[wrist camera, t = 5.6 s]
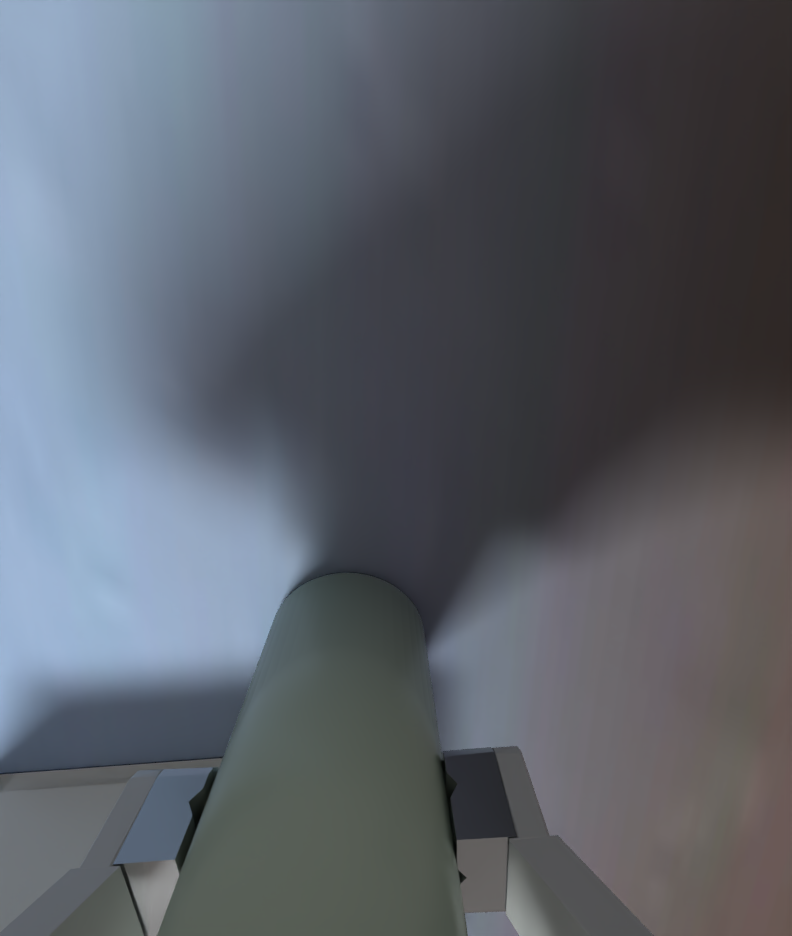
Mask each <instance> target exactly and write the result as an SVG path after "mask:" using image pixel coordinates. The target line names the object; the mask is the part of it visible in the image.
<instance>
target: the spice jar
mask: <svg viewBox="0 0 792 936" xmlns="http://www.w3.org/2000/svg"><path fill="white" fill-rule="evenodd" d="M157 936H468V935H467V928H466V921H465V914H464V907H463V900H462V893H461V886H460V879H459V872H458V865H457V861H456V854H455V847H454V840H453V833H452V826H451V820H450V809H449V802H448V796H447V791H446V784H445V777H444V770H443V762H442V753H441V746H440V739H439V732H438V725H437V718H436V711H435V704H434V698H433V691H432V684H431V677H430V670H429V663H428V656H427V649H426V642H425V635H424V628H423V624H422V620H421V617H420V615H419V613H418V611H417V609H416V607H415V606H414V604H413V603H412V602H411V601H410V599H409V598H408V597H407V596H406V595H405V594H404V593H403V592H401V591H400V590H399V589H398V588H396V587H395V586H393V585H392V584H390V583H388V582H386V581H384V580H382V579H379V578H376V577H373V576H369V575H365V574H358V573H336V574H330V575H325V576H321V577H319V578H316V579H313V580H311V581H309V582H307V583H305V584H303V585H302V586H300V587H299V588H297V589H296V590H294V591H293V592H292V593H291V594H290V595H289V596H288V597H287V598H286V599H285V600H284V602H283V603H282V604H281V606H280V608H279V609H278V611H277V613H276V615H275V618H274V620H273V623H272V626H271V628H270V631H269V634H268V637H267V639H266V642H265V645H264V647H263V650H262V653H261V656H260V658H259V661H258V664H257V666H256V669H255V672H254V674H253V677H252V680H251V683H250V685H249V688H248V691H247V693H246V696H245V699H244V701H243V704H242V707H241V710H240V712H239V715H238V718H237V720H236V723H235V726H234V729H233V731H232V734H231V737H230V739H229V742H228V745H227V747H226V750H225V753H224V756H223V758H222V761H221V764H220V766H219V769H218V772H217V775H216V777H215V780H214V783H213V785H212V788H211V791H210V793H209V796H208V799H207V802H206V804H205V807H204V810H203V812H202V815H201V818H200V820H199V823H198V826H197V829H196V831H195V834H194V837H193V839H192V842H191V845H190V848H189V850H188V853H187V856H186V858H185V861H184V864H183V866H182V869H181V872H180V875H179V877H178V880H177V883H176V885H175V888H174V891H173V894H172V896H171V899H170V902H169V904H168V907H167V910H166V912H165V915H164V918H163V921H162V923H161V926H160V929H159V931H158V934H157Z"/></svg>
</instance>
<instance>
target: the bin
mask: <svg viewBox="0 0 792 936" xmlns="http://www.w3.org/2000/svg"><path fill="white" fill-rule="evenodd" d="M221 761H222V758H217V759H203V760H190V761H176V762H162V763H149V764H135V765H122V766H108V767H94V768H81V769H67V770H54V771H40V772H27V773H13V774H0V932H1V931H2V930H3V929H4V928H6V927H7V926H8V925H9V924H10V923H11V922H12V921H13V920H14V919H16V918H17V917H18V916H19V915H20V914H21V913H22V912H23V911H24V910H26V909H27V908H28V907H29V906H30V905H31V904H32V903H33V902H35V901H36V900H37V899H38V898H39V897H40V896H41V895H42V894H43V893H45V892H46V891H47V890H48V889H49V888H50V887H51V886H52V885H53V884H55V883H56V882H57V881H58V880H59V879H60V878H61V877H62V876H63V875H65V874H66V873H67V872H68V871H69V870H70V869H76V868H80V866H81V864H82V862H83V861H84V859H85V857H86V855H87V854H88V852H89V850H90V848H91V846H92V845H93V843H94V841H95V839H96V838H97V836H98V834H99V832H100V831H101V829H102V827H103V825H104V823H105V822H106V820H107V818H108V816H109V815H110V813H111V811H112V809H113V808H114V806H115V804H116V802H117V800H118V799H119V797H120V795H121V793H122V792H123V790H124V788H125V786H126V784H127V783H128V781H129V779H130V778H131V777H132V776H133V775H134V774H135V773H136V772H137V771H139V770H158V769H182V768H210V767H218V768H219V766H220V764H221Z"/></svg>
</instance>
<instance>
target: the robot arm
mask: <svg viewBox="0 0 792 936" xmlns="http://www.w3.org/2000/svg"><path fill="white" fill-rule="evenodd" d="M442 762H443V770H444V777H445V784H446V791H447V796H448V802H449V809H450V820H451V826H452V833H453V840H454V847H455V854H456V861H457V865H458V872H459V879H460V886H461V893H462V900H463V907H464V913H474V912H501V911H506V915H507V917H508V918H509V920H510V921H511V923H512V924H513V926H514V928H515V929H516V931H517V932H518V934H519V935H520V936H654V935H653V934H652V933H651V932H650V931H649V930H648V929H647V928H646V927H645V926H644V925H643V924H642V923H641V922H640V921H639V920H638V919H637V917H636V916H635V915H634V914H633V913H632V912H631V911H630V910H629V909H628V908H627V907H626V906H625V905H624V904H623V903H622V902H621V901H620V900H619V899H618V898H617V897H616V896H615V895H614V894H613V892H612V891H611V890H610V889H609V888H608V887H607V886H606V885H605V884H604V883H603V882H602V881H601V880H600V879H599V878H598V877H597V876H596V875H595V874H594V873H593V872H592V871H591V870H590V869H589V867H588V866H587V865H586V864H585V863H584V862H583V861H582V860H581V859H580V858H579V857H578V856H577V855H576V854H575V853H574V852H573V851H572V850H571V849H570V848H569V847H568V846H567V845H566V844H565V842H564V841H563V840H562V839H561V838H560V837H559V836H558V835H557V836H549V833H548V830H547V827H546V824H545V821H544V818H543V815H542V812H541V809H540V806H539V803H538V800H537V797H536V794H535V791H534V788H533V785H532V782H531V779H530V776H529V773H528V770H527V767H526V764H525V761H524V758H523V755H522V752H521V750H520V749H519V748H518V746H510V747H496V748H491V747H487V748H474V749H462V750H450V751H443V753H442ZM218 769H219V768H218V767H210V768H182V769H158V770H139V771H137V772H136V773H135V774H134V775H133V776H132V777H131V778H130V779H129V781H128V783H127V784H126V786H125V788H124V790H123V792H122V793H121V795H120V797H119V799H118V800H117V802H116V804H115V806H114V808H113V809H112V811H111V813H110V815H109V816H108V818H107V820H106V822H105V823H104V825H103V827H102V829H101V831H100V832H99V834H98V836H97V838H96V839H95V841H94V843H93V845H92V846H91V848H90V850H89V852H88V854H87V855H86V857H85V859H84V861H83V862H82V864H81V866H80V868H76V869H70V870H69V871H68V872H67V873H66V874H65V875H63V876H62V877H61V878H60V879H59V880H58V881H57V882H56V883H55V884H53V885H52V886H51V887H50V888H49V889H48V890H47V891H46V892H45V893H43V894H42V895H41V896H40V897H39V898H38V899H37V900H36V901H35V902H33V903H32V904H31V905H30V906H29V907H28V908H27V909H26V910H24V911H23V912H22V913H21V914H20V915H19V916H18V917H17V918H16V919H14V920H13V921H12V922H11V923H10V924H9V925H8V926H7V927H6V928H4V929H3V930H2V931H1V932H0V936H157V934H158V931H159V929H160V926H161V923H162V921H163V918H164V915H165V912H166V910H167V907H168V904H169V902H170V899H171V896H172V894H173V891H174V888H175V885H176V883H177V880H178V877H179V875H180V872H181V869H182V866H183V864H184V861H185V858H186V856H187V853H188V850H189V848H190V845H191V842H192V839H193V837H194V834H195V831H196V829H197V826H198V823H199V820H200V818H201V815H202V812H203V810H204V807H205V804H206V802H207V799H208V796H209V793H210V791H211V788H212V785H213V783H214V780H215V777H216V775H217V772H218Z"/></svg>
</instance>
